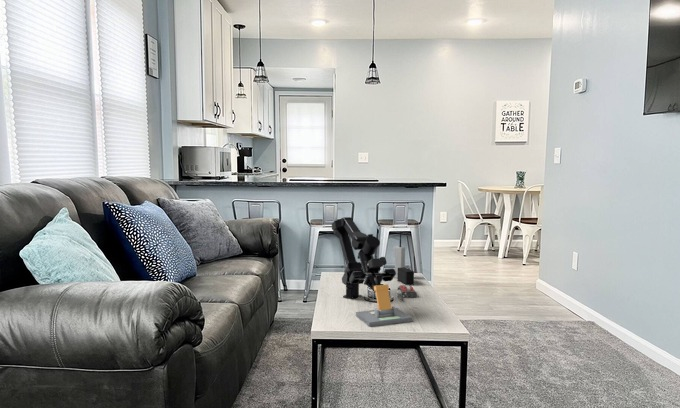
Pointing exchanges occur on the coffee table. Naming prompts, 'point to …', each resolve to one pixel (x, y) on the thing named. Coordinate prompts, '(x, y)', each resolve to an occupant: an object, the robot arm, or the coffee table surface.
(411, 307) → the coffee table surface
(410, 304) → the coffee table surface
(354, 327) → the coffee table surface
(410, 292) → the walkie-talkie
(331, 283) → the coffee table surface
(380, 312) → the breaker lever
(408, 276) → the digital camera
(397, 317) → the box
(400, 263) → the vintage mobile phone
